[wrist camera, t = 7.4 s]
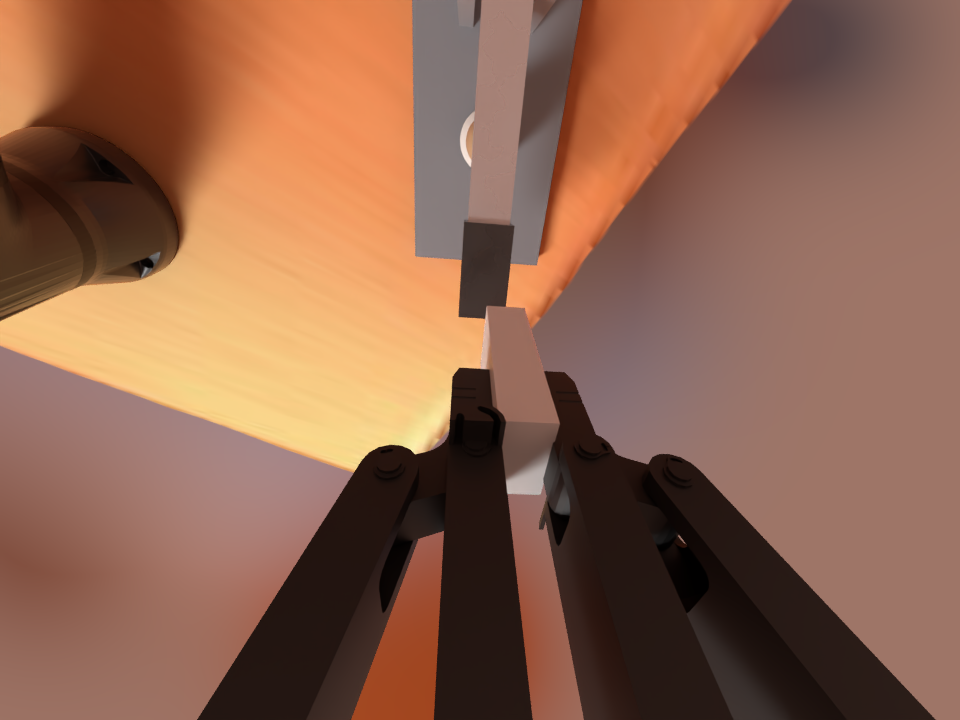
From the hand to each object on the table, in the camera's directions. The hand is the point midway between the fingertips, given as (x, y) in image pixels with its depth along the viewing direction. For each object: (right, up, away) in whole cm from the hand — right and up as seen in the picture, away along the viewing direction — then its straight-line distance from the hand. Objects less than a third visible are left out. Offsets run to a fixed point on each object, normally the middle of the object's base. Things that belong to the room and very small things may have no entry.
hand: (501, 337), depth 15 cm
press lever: (0, +14, +12) cm, 18 cm away
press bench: (0, +22, +22) cm, 31 cm away
